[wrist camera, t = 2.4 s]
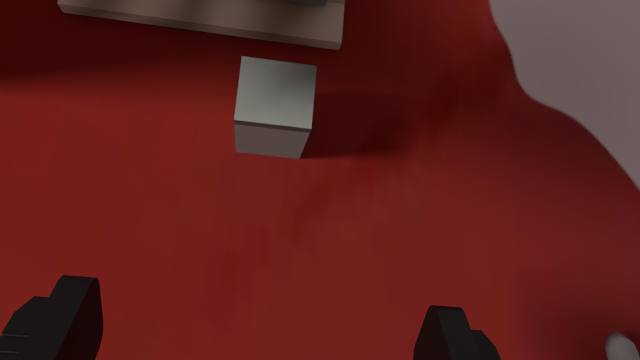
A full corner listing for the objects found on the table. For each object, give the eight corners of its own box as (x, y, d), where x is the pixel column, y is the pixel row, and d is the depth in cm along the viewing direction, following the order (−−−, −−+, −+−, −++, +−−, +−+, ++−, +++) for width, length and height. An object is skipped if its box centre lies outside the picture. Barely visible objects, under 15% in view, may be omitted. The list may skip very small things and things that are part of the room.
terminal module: (236, 151, 37) (234, 119, 30) (242, 98, 38) (241, 56, 31) (299, 158, 37) (311, 128, 30) (304, 106, 38) (316, 65, 31)
